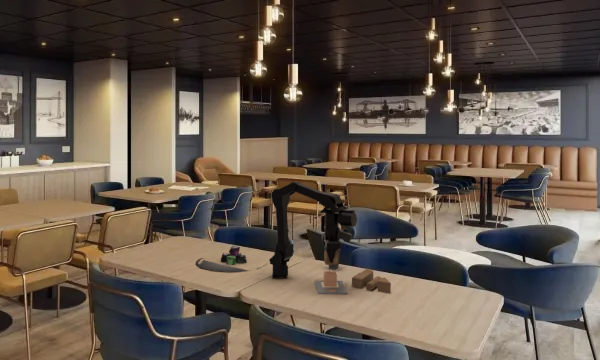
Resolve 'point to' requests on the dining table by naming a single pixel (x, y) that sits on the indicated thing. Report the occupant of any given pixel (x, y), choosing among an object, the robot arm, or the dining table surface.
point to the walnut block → (327, 261)
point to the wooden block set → (371, 281)
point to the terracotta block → (330, 278)
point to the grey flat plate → (330, 288)
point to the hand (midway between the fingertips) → (330, 260)
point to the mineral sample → (229, 258)
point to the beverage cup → (338, 261)
